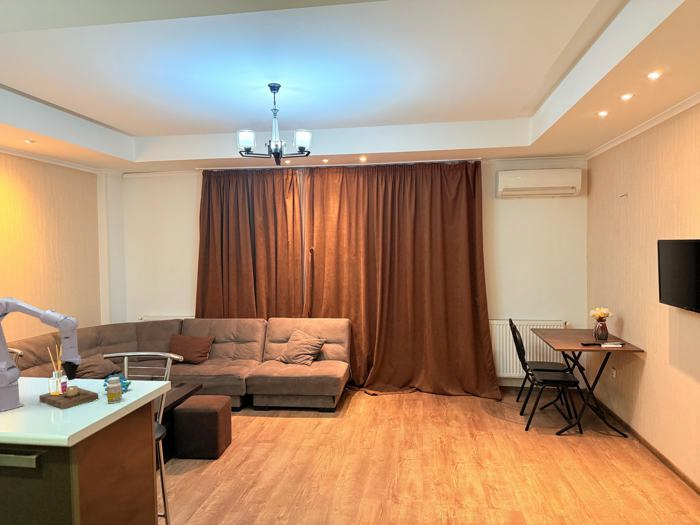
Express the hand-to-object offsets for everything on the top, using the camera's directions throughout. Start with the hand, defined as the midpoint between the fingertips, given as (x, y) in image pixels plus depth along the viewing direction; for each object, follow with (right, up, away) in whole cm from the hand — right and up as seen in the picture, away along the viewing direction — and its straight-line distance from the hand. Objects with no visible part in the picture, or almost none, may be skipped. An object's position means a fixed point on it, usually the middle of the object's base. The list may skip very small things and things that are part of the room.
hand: (71, 379), depth 197 cm
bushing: (0, -9, 0) cm, 9 cm away
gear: (+14, -9, +11) cm, 20 cm away
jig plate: (-2, -9, +2) cm, 10 cm away
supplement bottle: (+19, -9, -1) cm, 21 cm away
